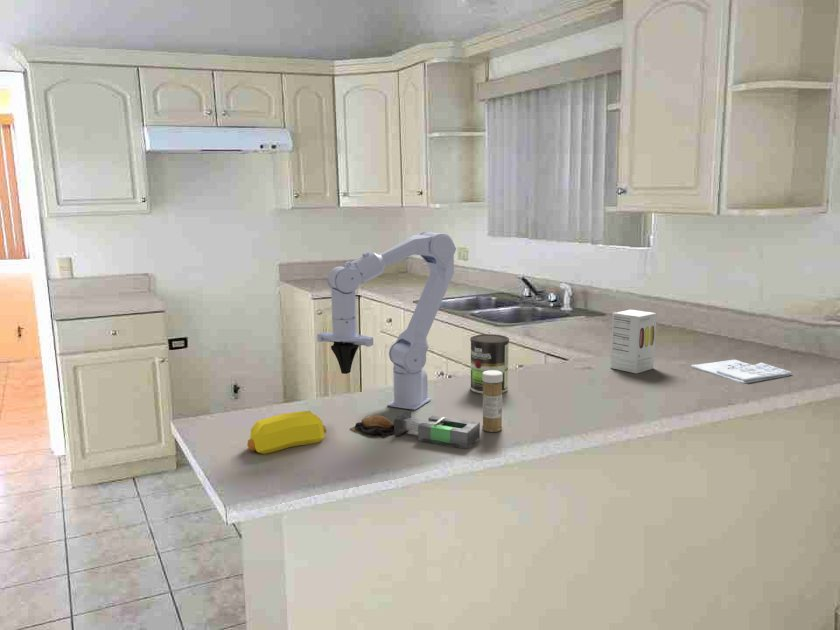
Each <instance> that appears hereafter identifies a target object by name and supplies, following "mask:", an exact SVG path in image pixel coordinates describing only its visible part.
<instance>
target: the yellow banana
mask: <svg viewBox="0 0 840 630" xmlns="http://www.w3.org/2000/svg"><path fill="white" fill-rule="evenodd" d="M326 431H327V430H326V426H325V425H324V423H323V420H322V419H321V418H320V417H319V416H318V415H316V414H314V413H312V412H311V411H310V410H303V411H295V412H286V413H281V414H278V415H277V414H276V415H273V416H271V417H267V418H262V419H258V420H256V422H255V423H254V424H253V425H252V427H251V429H250V437H249V438H250V439H248V440H247V448H248V450H250V451H253V452H256V453H259V454H262V455H267V454H270V453H275V452H278V451H281V450H282V451H283V450H285V449H288V448H291V447H298V446H303V445H304V446H305V445H310V444H315V443H320V442H321V441H322V440H324V438H326V436H325V434H326Z"/></svg>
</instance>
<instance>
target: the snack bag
mask: <svg viewBox="0 0 840 630" xmlns="http://www.w3.org/2000/svg"><path fill="white" fill-rule="evenodd" d="M690 366H691V367H690V368H691V369H693V370H698V371H700V372H701V371H702V372H705V373H708V374H711V375H714V376H716V377H717V376H718V377H721V378H724V379H726V380H730V381H734V382H736V383H739V384H743V385H744V384H748V383H755V382H760V381H766V380H772V379H777V378H783V377H788V376H789V377H790V376H791V374H793V373H792V372H791V370H787V369H783V368H780V367H777V366H773V365H770V364H767V363H764V362H759V363H756V364H752V363H747V362H743V361H741V360H738V359H728V360H722V361H721V360H720V361H714V362H708V363H700V364H699V363H698V364H691V365H690Z"/></svg>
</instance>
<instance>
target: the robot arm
mask: <svg viewBox="0 0 840 630" xmlns="http://www.w3.org/2000/svg"><path fill="white" fill-rule="evenodd" d="M456 250H457V247H456V245H455V243H454V241H453V238H451V236H450V235H449V234H447V233H445V232H443V233H442V232H441V233H439V232H431V231H425V230H424V231H422V232H419V234H414V235H412V236H410V237H409V238H407V239H405V240H403V241H402V242H399V243H398V244H396V245H393V246H391V247H390V248H388V249H387V250H385V251H383V252H381V253H379V254H377V252H368V251H365V252H363V253H362V256H361V257H359V258H357V259H355V260H353V261H350V260H349V261H346V262H345V263H344V264H345V265H344V266H335V267H334V268H332V269H331V270H330V271H329V274H328V277H326V282H327V283H326V284H327V285H328V286H329V287H330V290H331V292H330V293H331V319H332V320H331V321H332V325H331V327H332V332H323V331H321V332H319V333H317V334H316V335H317V336H316V339H317V342H320V343H322V342H327V343H333V344H332V345H330V349H331V351H332V353H333V354H334V356H335V358H336V360H337V362H338V365H339V369H340V372H341V374H345V375H347V374H349V373H351V372H352V366H353V362H354V359H355V356H356V353H357V351H358V350H359V347H360V346H365V347H368V348H370V347H371V346H374V337H373V336H367V335H362V334H359V333H358V331H357V330H358V329H357V301H356V300H357V297H356V290H357V289H358V288H359V286H360V285H362V284H364V283H366V282H368V281H370V280H372V279H375V278H376V277H378V276H380V275H382V274H383V273H384V270H385V268H386V267H388V266H390V265H393V264H394V263H397V262H400V261H401V260H404V259H406V258H408V257H411V256H415V255H416V256H420V257H421V258H422V259H423V260H424V262H425V263H426V265H427V267H428V269H429V271H430V274H429V276H428V278H427V281H426V283H425V285H424V287H423V289H422V292H421V294H420V297H419V299H418V301H417V304H416V306H415V309H414V310H413V314H412V316H411V317H410V321H409V323H408V325H407V327H406V329H404V331H402V332H401V333H400V334H399V335H398V337H397V339H396V341H395V342H394V343H392V345H391V346H390V348H389V351H388V358H389V360H390V362H392V363H393V368H392V371H393V372H392V375H393V377H392V378H393V379H392V381H393V400H392V401H390V402H389V403H387V404H386V405H387V407H392V408H400V409H406V410H414V411H416V410H417V409H419V408H420V407H422V406H423V405H425V404H427V403H428V402H429V401H431V400H432V398H431V397H428V394H429V393H428V391H429V388H428V385H429V384H428V381H429V380H428V374H427V372H426V370H425V369H424V367H425V365H426V363H427V352H428V350H429V343H428V339H427V337H428V335H429V333H430V330H431V328H432V325H433V324H434V321H435V318H436V316H437V313H438V311H439V309H440V306H441V305H442V302H443V299H444V297H445V294H446V292H447V291H448V288H449V285H450V283H451V282H452V281H451V280H452V278H453V276H454V272H455V271H454V270H455V267H454V266H455V265H454V264H455V259H454V258H455V253H456Z"/></svg>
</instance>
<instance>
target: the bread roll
mask: <svg viewBox="0 0 840 630" xmlns="http://www.w3.org/2000/svg"><path fill="white" fill-rule="evenodd" d="M349 430H350V431H351V432H355V433H357V434H360V435H365V436H369V437H373V438H383V439H385V438H389V437H392V436H395V435H394V423H393V422H392V421H390V419H388V418H387V417H385V416H383V415H379V414H373V415H369V416H367V417H364V418H363V419H362V420H361V421H359V422H356V423H355V425H354V426H353V427H350V428H349Z"/></svg>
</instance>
